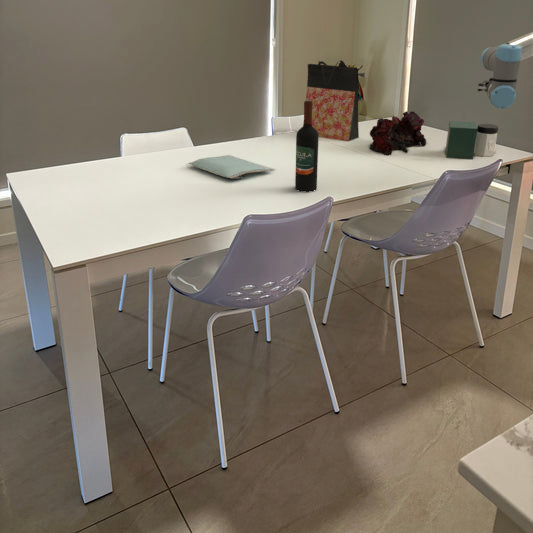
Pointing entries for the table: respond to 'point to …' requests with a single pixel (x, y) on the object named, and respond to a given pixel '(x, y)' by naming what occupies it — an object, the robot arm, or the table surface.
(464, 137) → the tea tin
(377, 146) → the flower arrangement
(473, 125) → the tin lid
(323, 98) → the gift bag
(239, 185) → the table surface
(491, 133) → the jar
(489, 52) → the robot arm
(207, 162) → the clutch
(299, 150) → the wine bottle
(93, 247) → the table surface
